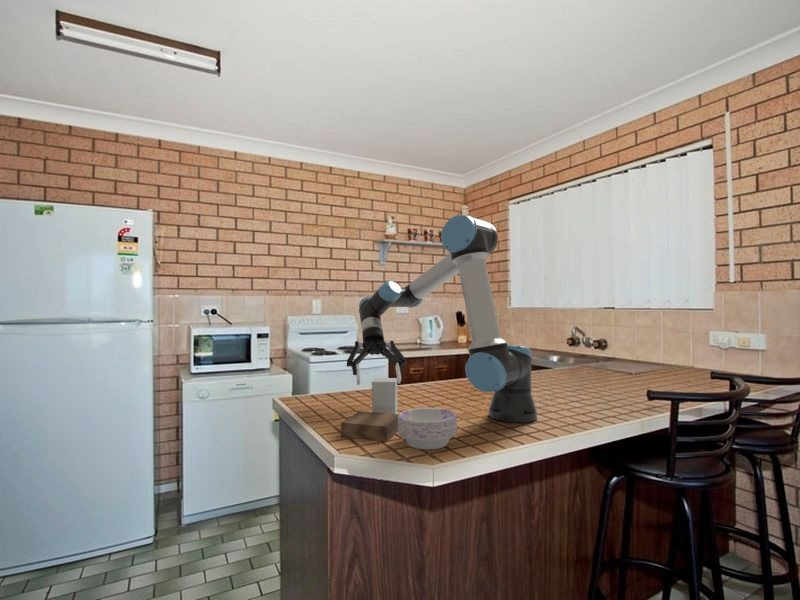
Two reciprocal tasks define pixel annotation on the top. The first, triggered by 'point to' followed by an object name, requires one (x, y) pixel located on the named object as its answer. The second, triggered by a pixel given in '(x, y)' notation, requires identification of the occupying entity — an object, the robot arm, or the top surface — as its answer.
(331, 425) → the top surface
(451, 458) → the top surface
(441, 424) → the paper bowls
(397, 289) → the robot arm
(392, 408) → the supplement box
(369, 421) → the block
